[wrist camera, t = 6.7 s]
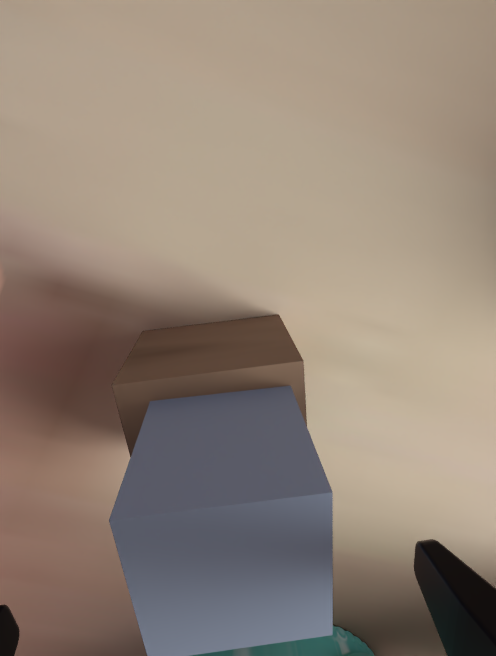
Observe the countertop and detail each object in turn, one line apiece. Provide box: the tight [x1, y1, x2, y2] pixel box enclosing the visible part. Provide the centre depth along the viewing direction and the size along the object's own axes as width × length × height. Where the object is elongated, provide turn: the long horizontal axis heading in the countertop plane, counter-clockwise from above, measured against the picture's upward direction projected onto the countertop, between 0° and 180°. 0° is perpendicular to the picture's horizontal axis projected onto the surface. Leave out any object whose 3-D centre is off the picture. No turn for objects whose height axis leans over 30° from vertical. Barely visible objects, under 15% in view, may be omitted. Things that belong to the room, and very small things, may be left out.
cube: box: [109, 386, 333, 656], centre depth 10 cm, size 4×4×4 cm
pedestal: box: [112, 315, 307, 457], centre depth 14 cm, size 6×6×5 cm
